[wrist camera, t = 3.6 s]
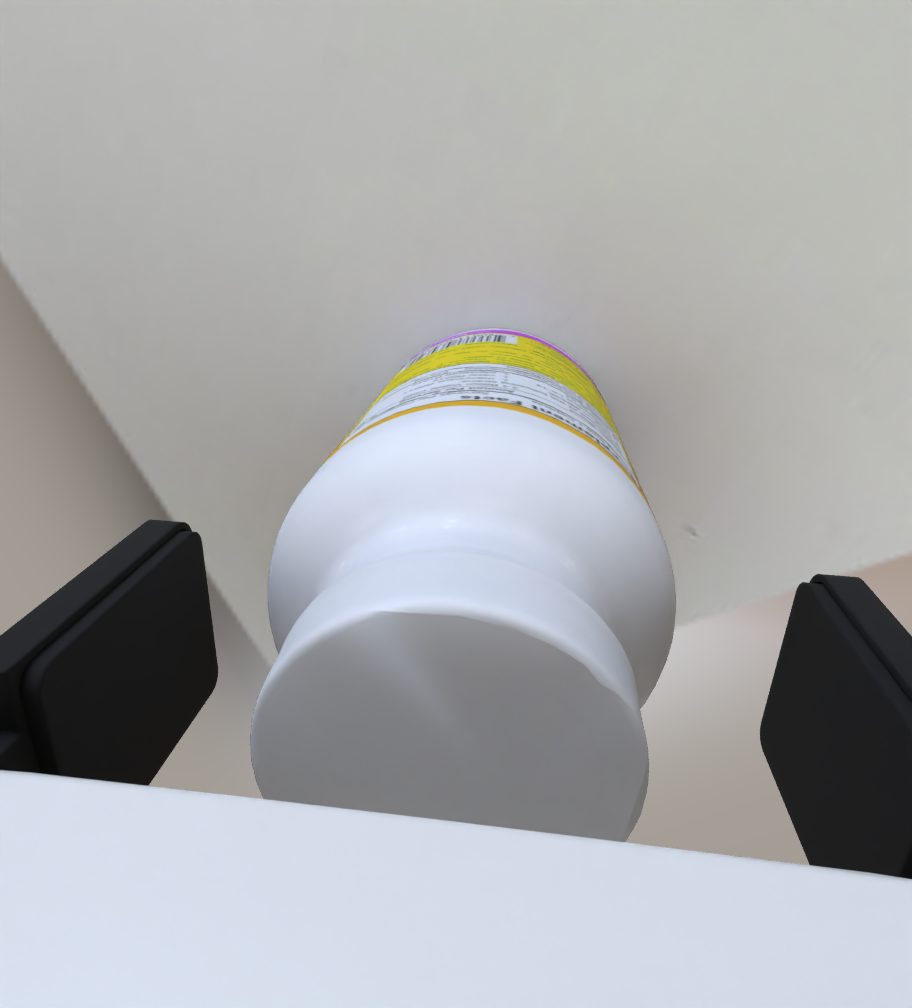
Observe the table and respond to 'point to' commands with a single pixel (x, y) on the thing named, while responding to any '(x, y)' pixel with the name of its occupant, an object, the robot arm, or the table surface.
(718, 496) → the table surface
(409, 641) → the supplement bottle
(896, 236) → the table surface
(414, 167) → the table surface
